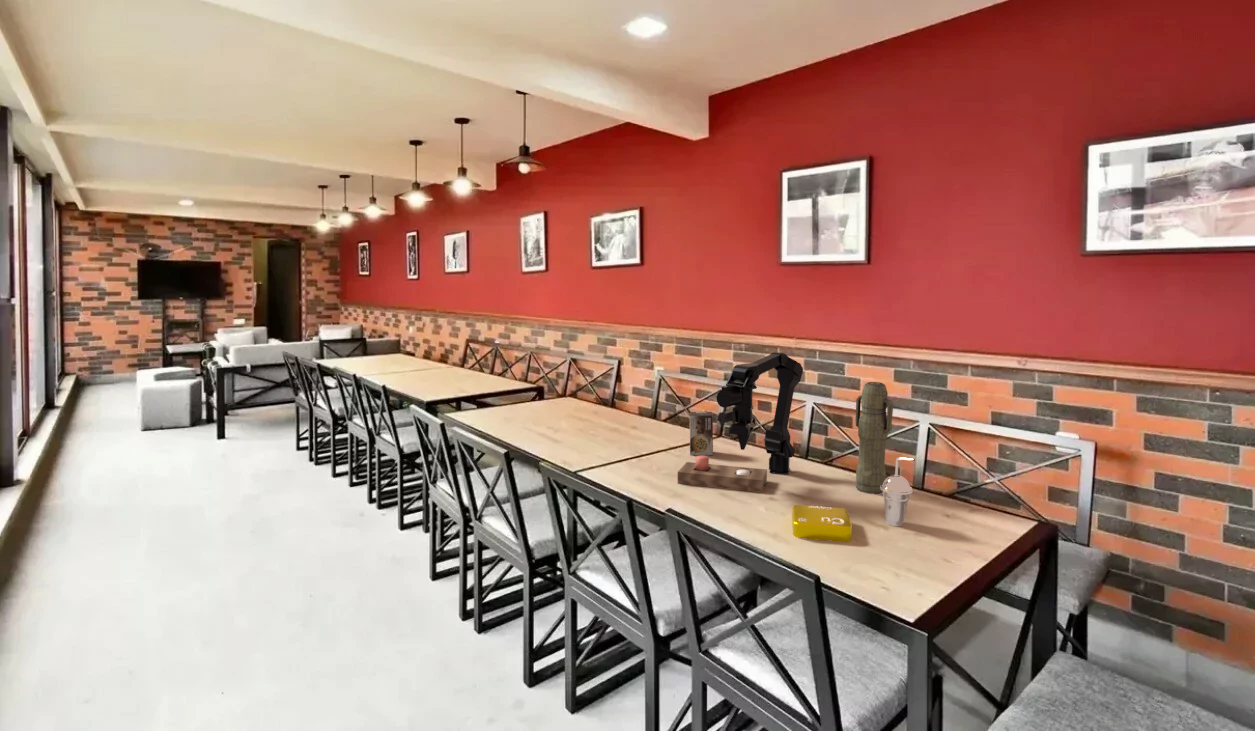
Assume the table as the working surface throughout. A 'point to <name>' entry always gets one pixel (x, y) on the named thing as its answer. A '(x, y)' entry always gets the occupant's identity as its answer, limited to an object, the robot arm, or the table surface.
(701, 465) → the pink rounded block
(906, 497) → the cup with straw
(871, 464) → the thermos
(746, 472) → the pin
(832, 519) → the element tile
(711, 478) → the pin block
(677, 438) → the table surface
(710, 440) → the coffee box
